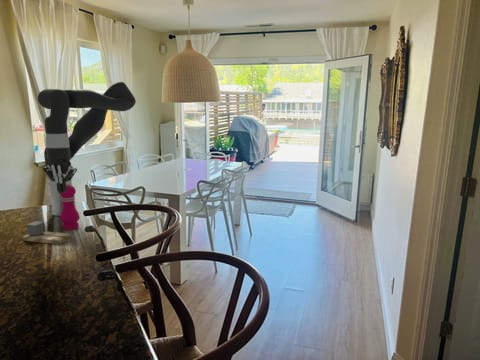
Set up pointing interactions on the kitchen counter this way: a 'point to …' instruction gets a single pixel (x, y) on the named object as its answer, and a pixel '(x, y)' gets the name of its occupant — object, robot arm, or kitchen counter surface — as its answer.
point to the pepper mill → (69, 209)
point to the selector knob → (35, 228)
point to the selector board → (49, 237)
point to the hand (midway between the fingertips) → (62, 192)
